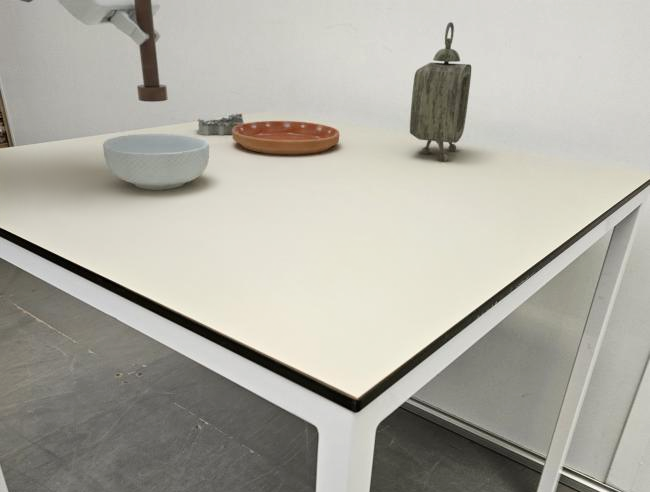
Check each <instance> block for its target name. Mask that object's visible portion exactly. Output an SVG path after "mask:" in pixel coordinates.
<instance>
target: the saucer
mask: <svg viewBox="0 0 650 492" xmlns="http://www.w3.org/2000/svg"><path fill="white" fill-rule="evenodd" d="M231 135H232V140H233V141H235V142H236V143H238V144H240V145H241V147H243V148H244V149H247V150H250V151H253V152H257V153H262V154H267V155H268V154H269V155H280V156H281V155H283V156H285V155H286V156H287V155H289V156H292V155H294V156H295V155H296V156H297V155H298V156H299V155H308V154H309V155H310V154H315V153H316V154H317V153H321V152H325V151H328V150H329V149H331V147H333V146H335V145H337V144H338V143H339V142H340V131H339V130H338V129H337V128H335V127H332V126H329V125H325V124H321V123H314V122H306V121H293V120H261V121H252V122H244V124H241V125H237V126H235V127H234V128H233V129H232V134H231Z"/></svg>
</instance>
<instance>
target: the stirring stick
mask: <svg viewBox="0 0 650 492" xmlns="http://www.w3.org/2000/svg"><path fill="white" fill-rule="evenodd" d="M134 4H135V12H136V21H137V26H138V27H142V28H143V29H144V30H145V32H146V33H147V34H148V35H149V39H148V40H147V41H146V43H145V44H141V45H138V47H139V55H140V57H139V58H140V64H141V71H142V72H141V74H142V83H143V84H139V85H137V87H136V89H137V98H138V101H140V102H149V103H151V102H152V103H155V102H156V103H157V102H165V101H168V99H169V98H168V87H167V85H165V84H160V74H159V64H158V55H157V54H158V53H157V46H156V45H157V44H156V43H157V42H156V43H155V33H154V28H155V26H154V25H155V24H154V17H153V13H152V4H151V0H134Z"/></svg>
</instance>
